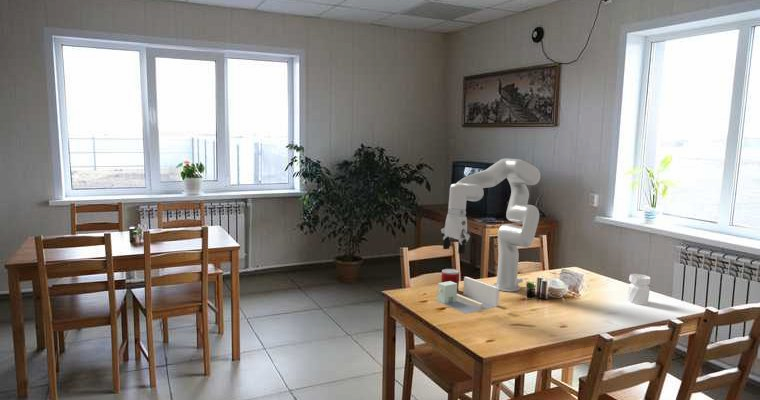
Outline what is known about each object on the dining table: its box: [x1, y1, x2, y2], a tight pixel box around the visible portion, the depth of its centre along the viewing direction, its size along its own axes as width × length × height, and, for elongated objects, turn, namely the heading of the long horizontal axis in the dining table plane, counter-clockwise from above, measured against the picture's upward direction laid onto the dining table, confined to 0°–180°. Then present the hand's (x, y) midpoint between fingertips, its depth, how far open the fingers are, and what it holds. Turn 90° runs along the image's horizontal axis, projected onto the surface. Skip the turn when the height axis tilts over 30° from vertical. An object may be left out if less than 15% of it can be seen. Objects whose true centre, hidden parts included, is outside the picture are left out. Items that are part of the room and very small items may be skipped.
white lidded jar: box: [627, 273, 652, 306], centre depth 240 cm, size 9×9×12 cm
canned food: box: [440, 268, 460, 293], centre depth 243 cm, size 8×8×11 cm
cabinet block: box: [436, 281, 458, 305], centre depth 228 cm, size 8×4×8 cm, turn 125°
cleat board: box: [434, 276, 500, 315], centre depth 226 cm, size 19×20×10 cm
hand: (453, 251), depth 228 cm, fingers open, 9 cm apart
